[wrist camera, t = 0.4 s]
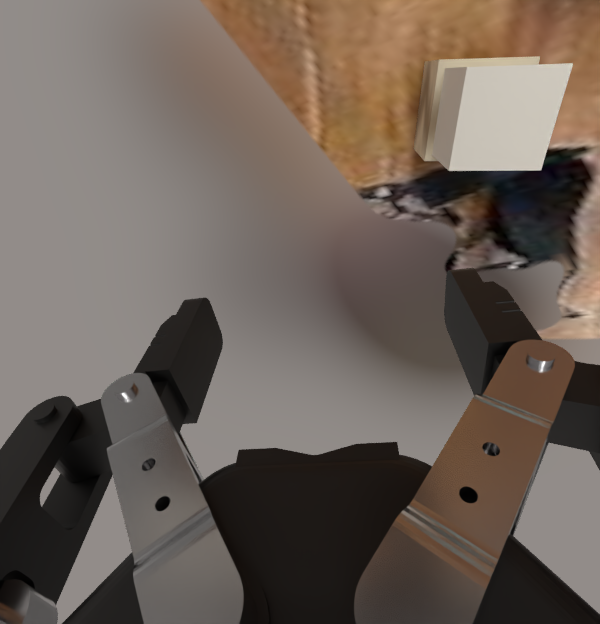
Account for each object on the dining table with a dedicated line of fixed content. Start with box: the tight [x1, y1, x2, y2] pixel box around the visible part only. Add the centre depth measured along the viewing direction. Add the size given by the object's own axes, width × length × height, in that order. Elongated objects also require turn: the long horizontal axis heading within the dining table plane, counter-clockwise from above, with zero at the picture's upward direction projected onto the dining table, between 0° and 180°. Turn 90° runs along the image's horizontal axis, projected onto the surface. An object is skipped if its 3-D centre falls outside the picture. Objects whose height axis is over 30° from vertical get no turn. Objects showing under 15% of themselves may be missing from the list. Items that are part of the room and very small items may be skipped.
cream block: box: [432, 63, 573, 171], centre depth 27 cm, size 6×6×6 cm
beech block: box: [414, 57, 540, 161], centre depth 32 cm, size 7×7×6 cm
